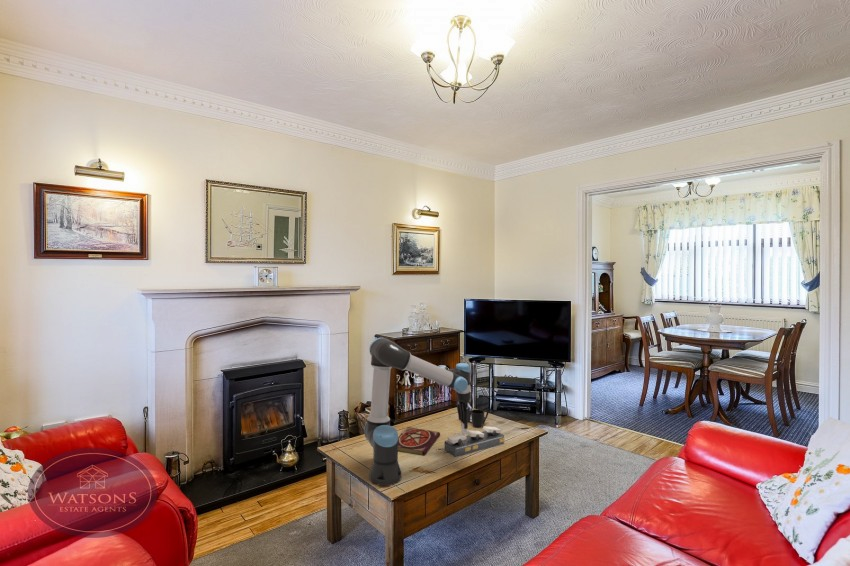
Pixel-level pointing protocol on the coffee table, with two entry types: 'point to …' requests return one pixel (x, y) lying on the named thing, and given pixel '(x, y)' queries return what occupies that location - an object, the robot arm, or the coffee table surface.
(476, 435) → the white rectangular block
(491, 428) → the block
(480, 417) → the mug
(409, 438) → the book
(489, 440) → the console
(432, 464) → the coffee table surface
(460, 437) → the block
